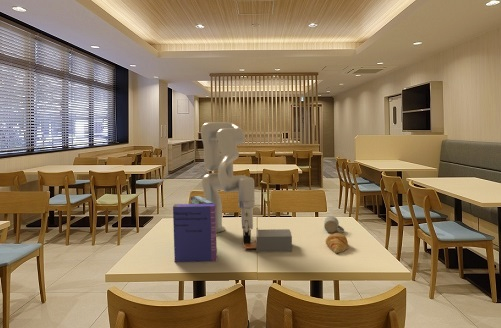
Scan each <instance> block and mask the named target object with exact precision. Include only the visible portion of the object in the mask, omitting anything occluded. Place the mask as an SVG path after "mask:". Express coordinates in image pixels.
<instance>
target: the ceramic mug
mask: <svg viewBox="0 0 501 328" xmlns="http://www.w3.org/2000/svg"><path fill="white" fill-rule="evenodd" d="M339 223H340V222H339V220H338V218H337V217H336V216H333V215H329V216H327V217H326V218H325V219H324V222H323V227H324V228H323V229H324V230H325V231H326V232H327V233H329V234H334V233H341V234H342V233H344V232H345V229H344V228H343V226H341V225H339Z"/></svg>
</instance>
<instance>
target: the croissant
mask: <svg viewBox="0 0 501 328" xmlns="http://www.w3.org/2000/svg"><path fill="white" fill-rule="evenodd" d="M325 244H326V246H327V247H328V248H329V249H330V250H331V251H333V253H335V254H339V253H342V252H344V251H346V250H348V248H349V242H348V239H347V236H346V235H345V234H342V233H341V232H334V233H330V234H329V235H328V236H327V237H326V239H325Z"/></svg>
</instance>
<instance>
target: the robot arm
mask: <svg viewBox="0 0 501 328" xmlns="http://www.w3.org/2000/svg"><path fill="white" fill-rule="evenodd" d="M200 137H201V141H202V144H203V164H204V168H205V171H207V172H216V173H208V174H204V175H203V177H202V179H201V186H202V190H203V198H204V199H206V200H208V201H210V202H213V204H216V234H217V233H221V232H225V230H226V227H225V226H223V220H222V219H223V216H222V215H223V213H222V212H223V211H222V209H223V208H222V196H221V195H220V193H218V191H224V192H225V193H233V192H238V195H237V196H238V198H237V199H238V200H237V201H238V208H239V209H240V211H241V212H240V217H241V220H240V221H241V228H242V230H243V229H244V235H243V234H242V239H243V240H242V244H243V243H244V244H250V229H251V230H253V229H254V214H253V213H254V211H253V210H254V209H255V206H256V205H255V204H256V203H255V201H256V200H255V178H253V177H250V176H247V175H244V174H241V175H234V161H236V160H237V159H238V158H239V156H240V154H239V151H238V150H239V149H238V146H237V145H242V144H243V143H244V141H245V133H244V131H243V130H242V128H241V127H240V126H238V125H236V124H234V123H233V122H230V121H228V122H227V121H208V122H205V123H204V124H202V125H201V128H200ZM253 208H254V209H253ZM248 230H249V231H248Z"/></svg>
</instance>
